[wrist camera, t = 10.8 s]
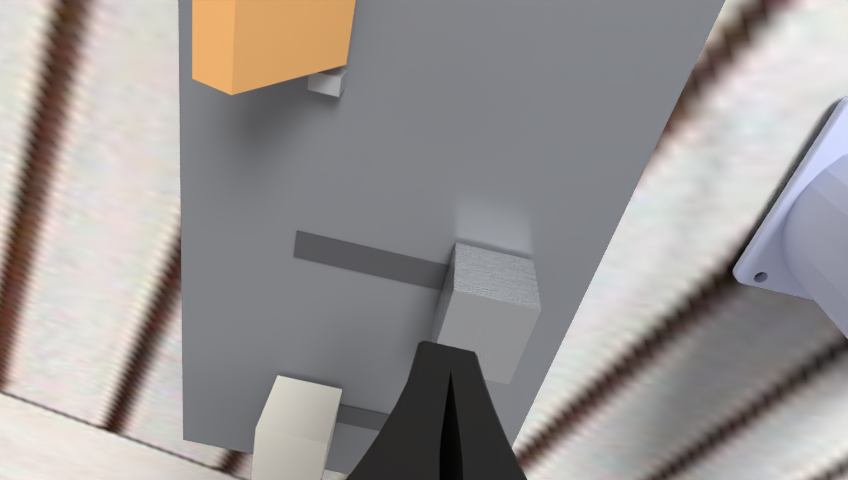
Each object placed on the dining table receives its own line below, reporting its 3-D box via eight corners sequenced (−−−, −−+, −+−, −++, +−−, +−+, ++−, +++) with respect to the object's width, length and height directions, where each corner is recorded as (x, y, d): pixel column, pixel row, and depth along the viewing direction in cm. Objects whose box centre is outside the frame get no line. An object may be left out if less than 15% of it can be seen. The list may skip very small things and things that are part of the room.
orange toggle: (361, -42, 16) (237, -45, 11) (346, 64, 17) (231, 95, 13) (326, -53, 16) (192, -60, 12) (314, 52, 17) (192, 78, 13)
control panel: (729, -71, 17) (774, -66, 14) (484, 469, 31) (485, 520, 28) (207, -212, 16) (157, -233, 14) (199, 409, 30) (174, 456, 28)
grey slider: (533, 260, 21) (541, 310, 18) (505, 330, 23) (508, 384, 20) (456, 242, 21) (453, 290, 18) (434, 314, 23) (429, 367, 20)
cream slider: (342, 389, 25) (327, 443, 23) (331, 439, 27) (317, 495, 25) (277, 375, 25) (255, 428, 23) (271, 426, 27) (250, 481, 25)
